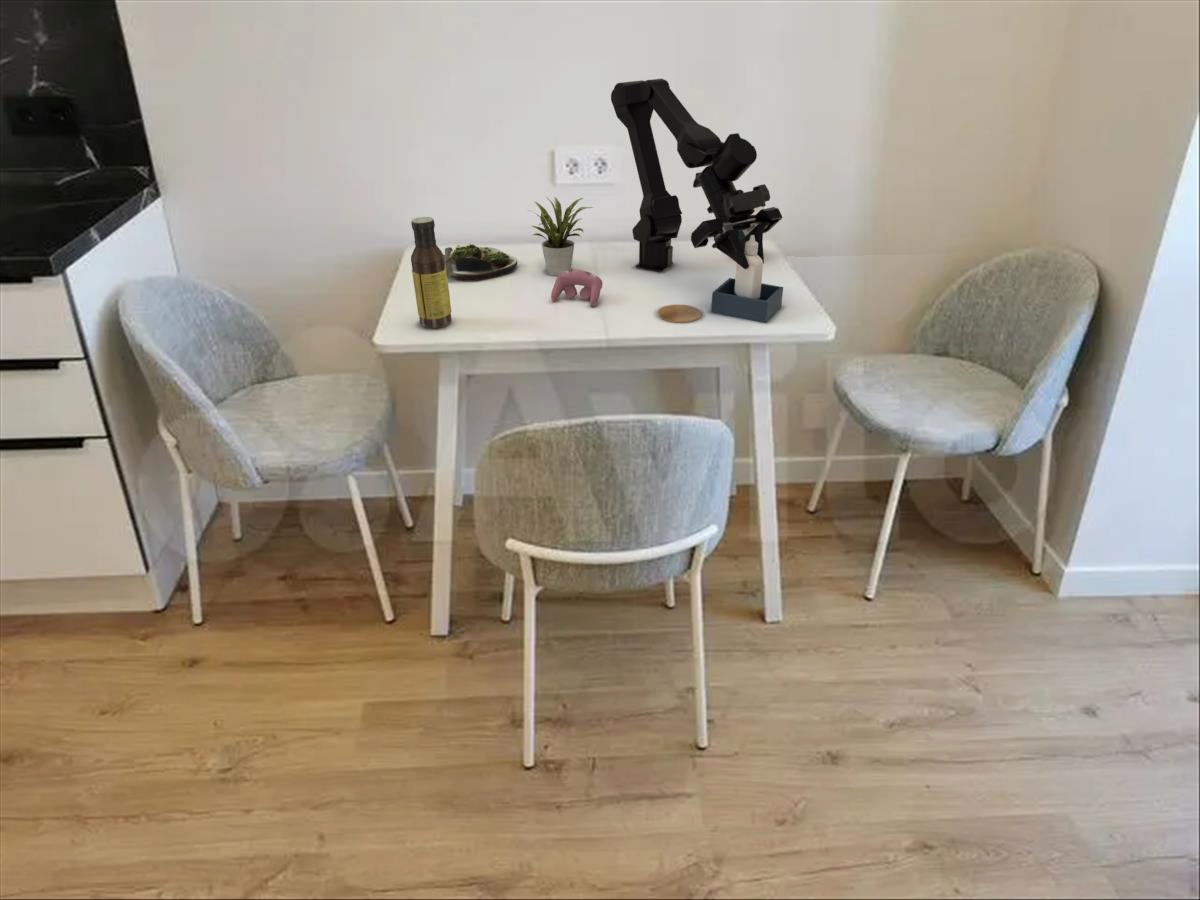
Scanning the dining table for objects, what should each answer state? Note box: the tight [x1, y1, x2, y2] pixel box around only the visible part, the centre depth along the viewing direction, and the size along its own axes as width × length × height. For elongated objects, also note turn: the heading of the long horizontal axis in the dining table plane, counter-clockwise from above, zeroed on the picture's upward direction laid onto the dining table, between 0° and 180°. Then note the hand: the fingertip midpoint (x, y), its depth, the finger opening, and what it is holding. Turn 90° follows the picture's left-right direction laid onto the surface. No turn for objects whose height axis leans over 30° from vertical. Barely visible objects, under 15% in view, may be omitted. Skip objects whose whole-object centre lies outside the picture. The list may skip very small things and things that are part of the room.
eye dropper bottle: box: [734, 235, 764, 299], centre depth 169 cm, size 4×6×12 cm
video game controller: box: [550, 269, 603, 307], centre depth 177 cm, size 10×5×7 cm, turn 71°
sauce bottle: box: [410, 216, 452, 329], centre depth 163 cm, size 6×6×20 cm
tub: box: [710, 277, 784, 323], centre depth 172 cm, size 11×9×4 cm
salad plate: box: [443, 243, 518, 282], centre depth 195 cm, size 19×18×5 cm
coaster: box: [657, 304, 702, 324], centre depth 171 cm, size 8×8×1 cm
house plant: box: [527, 196, 595, 276], centre depth 189 cm, size 14×14×16 cm
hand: (754, 266), depth 168 cm, fingers closed on eye dropper bottle, 3 cm apart
